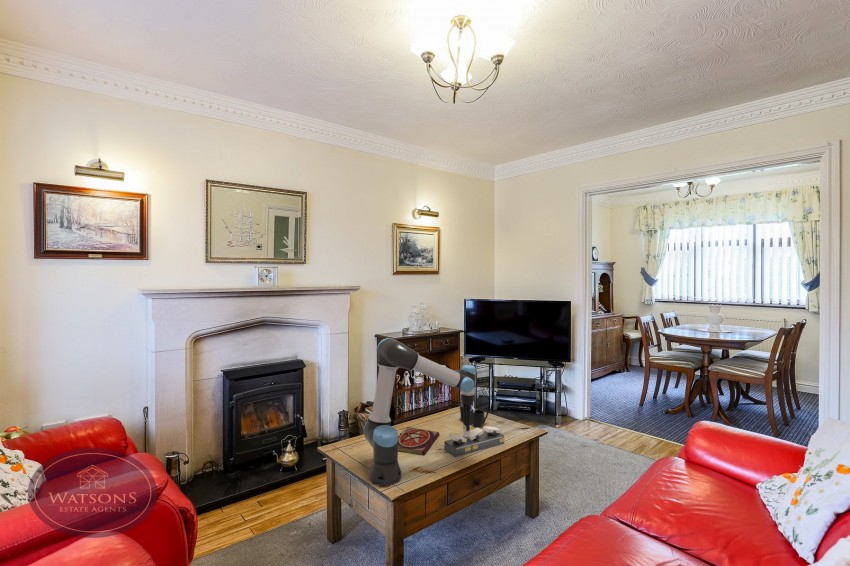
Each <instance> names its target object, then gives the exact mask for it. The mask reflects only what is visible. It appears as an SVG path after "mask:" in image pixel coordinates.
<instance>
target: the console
mask: <svg viewBox="0 0 850 566" xmlns="http://www.w3.org/2000/svg"><path fill="white" fill-rule="evenodd" d="M483 432H484V433H483V434H482V435H480V437H479V439H473V440H472V441H471V440H469V439H467V438H466V437H464V436H462V437H464V438H466V439H467V441H466V442H462V443H461V444H458V443H457V442H455V441H454V440H452V439H451V438H450V439H448V440H444V449H443V450H444V451H445V452H446V453H448V454H450V455H451V456H452V457H454V458H456V457H460V456H464V455H468V454H472V453H475V452H478V451H482V450H487V449H490V448H494V447H497V446H501V445H504V444H505V435H504V434H502V433H501V432H500V433H496V434H495V435H493V434H491V433H489V432H487V431H485V430H483Z"/></svg>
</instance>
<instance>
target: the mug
mask: <svg viewBox="0 0 850 566" xmlns="http://www.w3.org/2000/svg"><path fill="white" fill-rule="evenodd" d="M475 409H476V412H475V415H474V419H473V424H472V427H473V428H474V429H476V428H477V427H478V428H480V429H481V428H482V427H483V425H484V424H485V422H486V420H487V418H488V416H489V410H483V409H477V408H475ZM485 413H486V414H485Z"/></svg>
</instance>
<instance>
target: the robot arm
mask: <svg viewBox="0 0 850 566" xmlns="http://www.w3.org/2000/svg"><path fill="white" fill-rule="evenodd" d="M376 353H377V356H378V357H377V362H376V363H377V364H376V365H377V366H378V367H379V368H378V375H377V380H376V381H377V382H376V387H375V393H374V399H373V405H372V411H371V414H369V415H368V418H367V421H366V422H365V424H364V425H363V436H364V438H365V440H366V441H367V443H368V444H369V445H370V446H371V448H372V450H373V462H372V465H371V469H370V472H369V481H370V482H371V481H372V482H371V483H373V484H374V483H375V485H377V484H379V485H378V486H391V485H390V484H392V485H394V483H395V484H397V483H399V482H400V481H401V480H402V470H401V467H400V464H399V459H398V458H399V457H398V456H399V452H398V436H399V435H398V434H399V433H398V430H397V429H396V427H394V426H392V425H391V422H392V419H391V417H390V411H391V404H392V397H393V391H394V385H395V380H396V379H395V378H396V374H397V373H396V372H397V370H398V369H399V368H401V369H404V370H407V371H410V372H412V371H415V372H417V373H420V374H423V375H425V376H427V377H430V378H432V379H435V380H437V381H439V382H441V383H442V384H443V385H445V386H450V387H453V388H455V389H458V390H459V391H460V393H461V394H460V401H461V402H460V403H459V404H458V406H459V411H460V412H459V414H460V422H462V424H463V433H462V434H463V436H464V437H468V436H469V432H470V431H471V430H470V429H471V428H470V427H471V426H473V419H474V415H475V412H476V409H477V408H474V402H475V399H476V398H475V396H476V395H475V392H476V375H477V369H476V367H475V366H474V365H471V364H465V365H463V366H462V367H461V369H454V370H453V369H451V368H448V367H446V366H444V365H442V364H439V363H437V362H435V361H433V360H430V359H428V358H426V357H424V356H421V355H420V354H419V352H417V351H415V350H413V349H412V348H410V347H409V346H407V345H406V344H404V343H403V342H400V341H399V340H397V339H396V338H393V337H387V338H383V339H382V340H381V341H379V343H378V344H377V347H376ZM463 436H462V437H463ZM400 479H401V480H400ZM398 481H399V482H398ZM396 482H397V483H396Z"/></svg>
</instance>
